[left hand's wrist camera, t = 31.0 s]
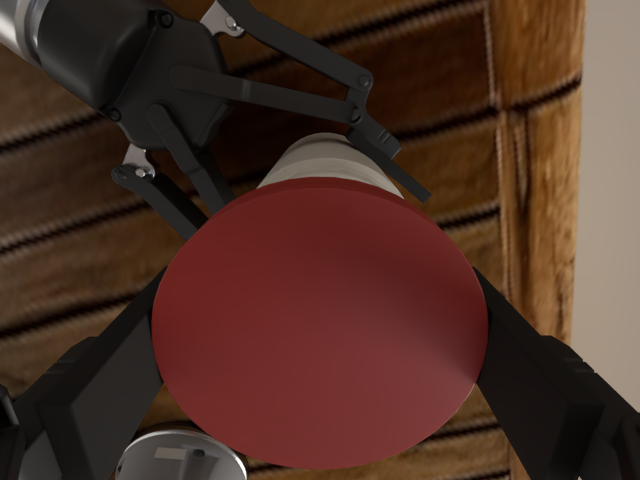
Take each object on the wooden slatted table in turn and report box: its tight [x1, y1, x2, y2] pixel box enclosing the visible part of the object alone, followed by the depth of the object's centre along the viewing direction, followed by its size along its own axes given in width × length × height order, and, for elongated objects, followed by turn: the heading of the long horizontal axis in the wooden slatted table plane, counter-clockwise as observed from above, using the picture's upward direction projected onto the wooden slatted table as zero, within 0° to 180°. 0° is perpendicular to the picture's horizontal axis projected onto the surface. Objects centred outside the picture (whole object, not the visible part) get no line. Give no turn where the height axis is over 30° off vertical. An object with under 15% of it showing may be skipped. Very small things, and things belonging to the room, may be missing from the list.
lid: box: [151, 177, 489, 469], centre depth 11 cm, size 10×10×2 cm
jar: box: [256, 133, 404, 199], centre depth 23 cm, size 9×9×15 cm
